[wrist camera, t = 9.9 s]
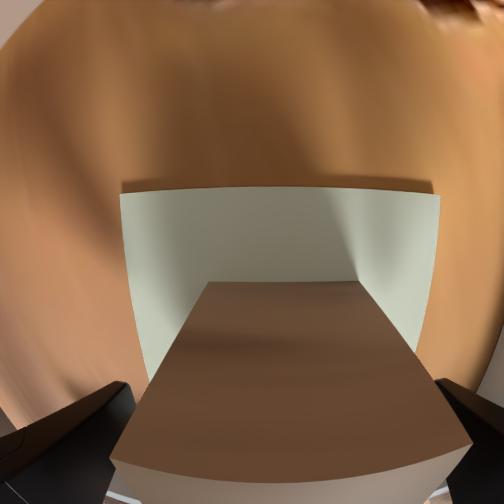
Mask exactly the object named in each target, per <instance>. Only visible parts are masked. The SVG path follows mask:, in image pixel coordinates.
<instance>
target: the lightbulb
mask: <svg viewBox="0 0 504 504" xmlns="http://www.w3.org/2000/svg"><path fill="white" fill-rule="evenodd" d="M429 502H431V503H430V504H453V503H452V500H451V496H450V492H449V491H447V492H445V493H442V494H440V495H437V496H434V497H432V498H429Z"/></svg>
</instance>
